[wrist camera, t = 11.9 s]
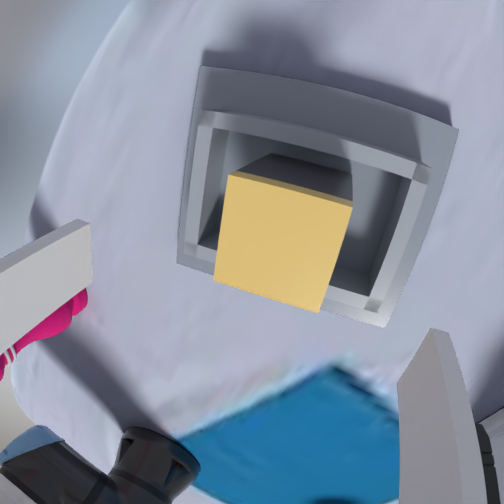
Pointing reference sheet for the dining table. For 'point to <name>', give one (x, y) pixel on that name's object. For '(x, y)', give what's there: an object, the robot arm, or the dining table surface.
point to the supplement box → (497, 445)
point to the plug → (283, 229)
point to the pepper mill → (46, 328)
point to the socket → (326, 154)
